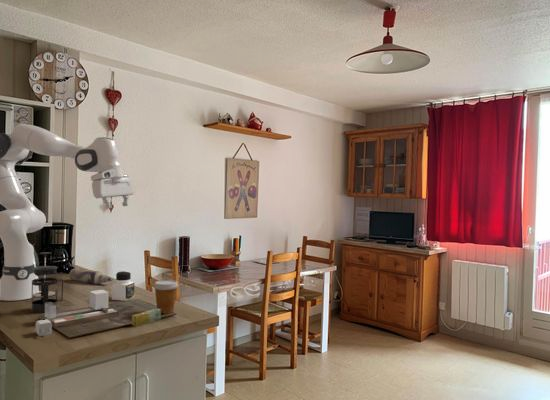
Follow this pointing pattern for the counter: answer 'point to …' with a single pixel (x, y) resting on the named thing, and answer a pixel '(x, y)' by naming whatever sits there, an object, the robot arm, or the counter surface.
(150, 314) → the medication box
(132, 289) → the medicine bottle
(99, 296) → the block
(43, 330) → the usb wall charger
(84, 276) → the decorative bottle
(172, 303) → the disposable coffee cup
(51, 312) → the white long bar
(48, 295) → the french press
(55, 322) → the gauge board
